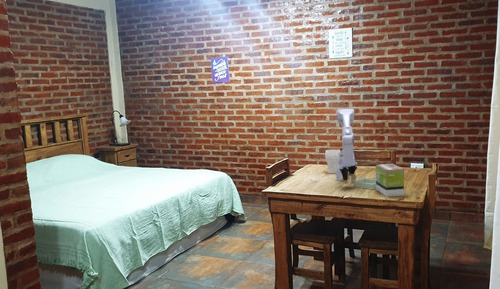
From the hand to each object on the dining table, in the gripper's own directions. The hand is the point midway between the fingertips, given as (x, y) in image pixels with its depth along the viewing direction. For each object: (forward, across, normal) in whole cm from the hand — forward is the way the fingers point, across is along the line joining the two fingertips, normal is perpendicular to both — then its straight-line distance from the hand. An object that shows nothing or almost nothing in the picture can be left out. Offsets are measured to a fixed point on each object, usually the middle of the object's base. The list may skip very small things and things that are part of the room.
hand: (348, 179), depth 246 cm
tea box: (+5, +5, -23) cm, 24 cm away
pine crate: (+2, 0, 0) cm, 2 cm away
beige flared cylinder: (+6, +29, +35) cm, 46 cm away
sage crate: (+5, +11, -6) cm, 13 cm away
